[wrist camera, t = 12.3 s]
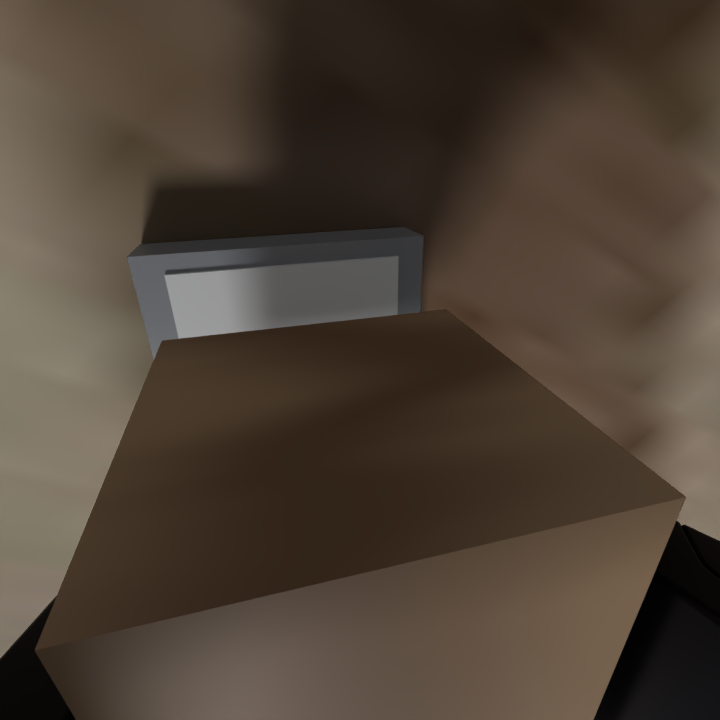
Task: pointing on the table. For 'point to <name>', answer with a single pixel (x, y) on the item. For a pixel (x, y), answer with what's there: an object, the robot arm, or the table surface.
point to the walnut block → (355, 537)
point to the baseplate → (275, 281)
